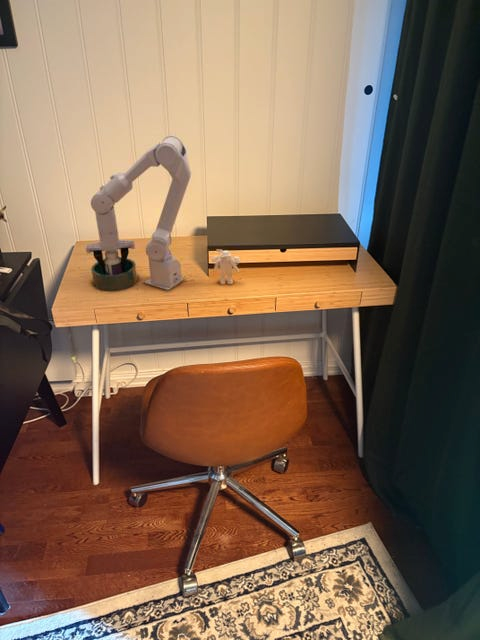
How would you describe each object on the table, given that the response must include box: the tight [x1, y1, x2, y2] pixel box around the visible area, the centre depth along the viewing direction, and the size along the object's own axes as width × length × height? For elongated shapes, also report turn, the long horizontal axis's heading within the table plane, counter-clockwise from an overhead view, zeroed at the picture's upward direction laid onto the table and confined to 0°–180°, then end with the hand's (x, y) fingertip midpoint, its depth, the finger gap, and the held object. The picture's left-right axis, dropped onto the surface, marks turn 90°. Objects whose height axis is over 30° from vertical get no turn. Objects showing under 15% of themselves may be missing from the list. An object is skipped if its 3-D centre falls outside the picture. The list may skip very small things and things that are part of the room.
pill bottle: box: [103, 250, 123, 275], centre depth 150 cm, size 5×5×10 cm
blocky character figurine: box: [211, 248, 242, 285], centre depth 148 cm, size 9×4×12 cm, turn 86°
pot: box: [90, 256, 138, 292], centre depth 152 cm, size 14×14×5 cm
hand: (114, 270), depth 151 cm, fingers closed on pill bottle, 5 cm apart
